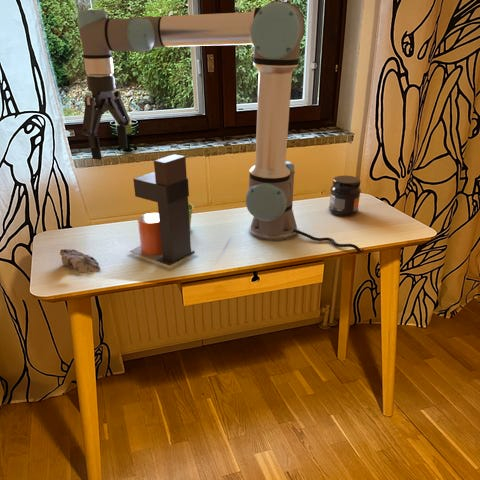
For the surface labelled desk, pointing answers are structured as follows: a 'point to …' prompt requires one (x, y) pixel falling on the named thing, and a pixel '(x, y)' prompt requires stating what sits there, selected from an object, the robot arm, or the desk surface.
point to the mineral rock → (79, 261)
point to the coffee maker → (168, 207)
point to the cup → (150, 234)
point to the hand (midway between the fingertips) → (110, 153)
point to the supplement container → (345, 196)
